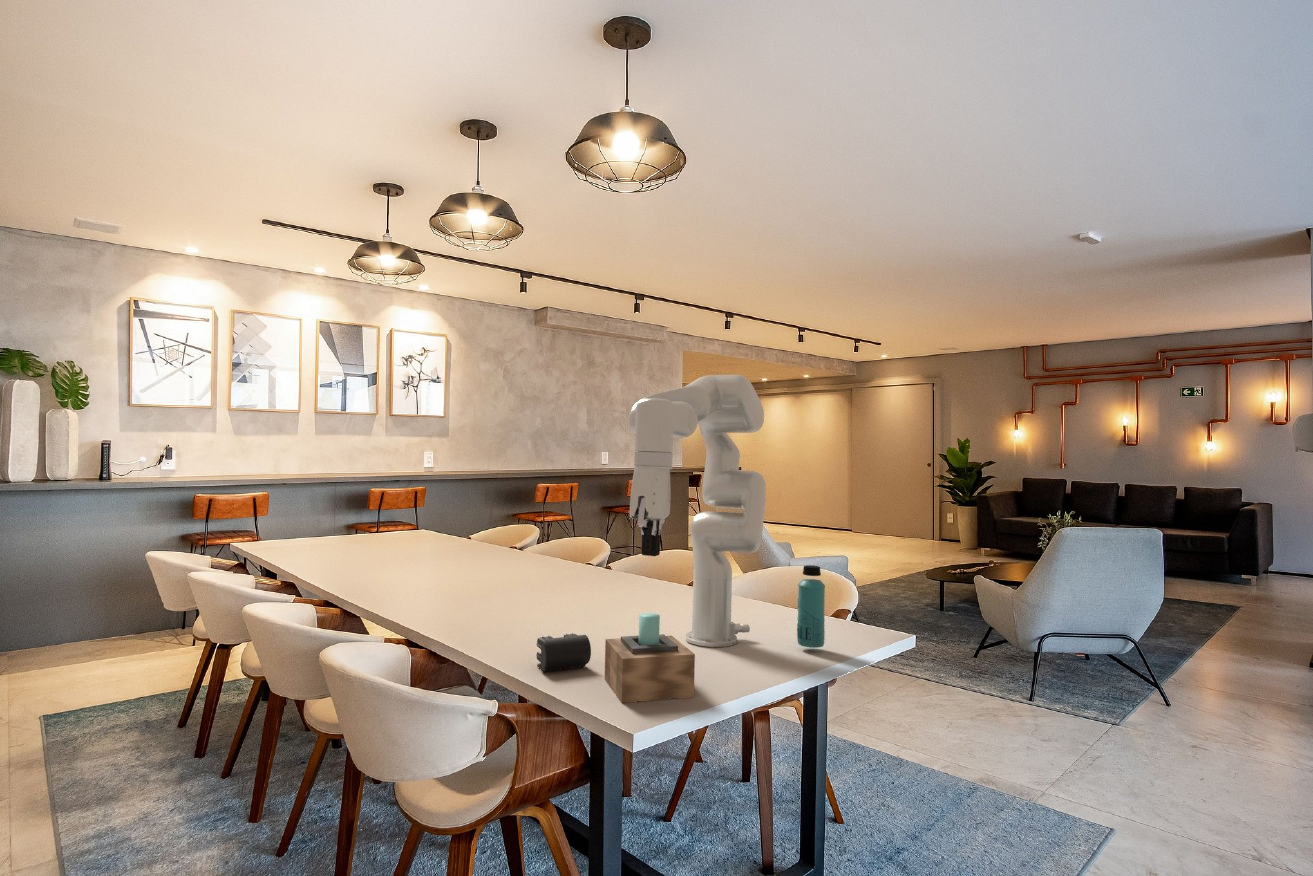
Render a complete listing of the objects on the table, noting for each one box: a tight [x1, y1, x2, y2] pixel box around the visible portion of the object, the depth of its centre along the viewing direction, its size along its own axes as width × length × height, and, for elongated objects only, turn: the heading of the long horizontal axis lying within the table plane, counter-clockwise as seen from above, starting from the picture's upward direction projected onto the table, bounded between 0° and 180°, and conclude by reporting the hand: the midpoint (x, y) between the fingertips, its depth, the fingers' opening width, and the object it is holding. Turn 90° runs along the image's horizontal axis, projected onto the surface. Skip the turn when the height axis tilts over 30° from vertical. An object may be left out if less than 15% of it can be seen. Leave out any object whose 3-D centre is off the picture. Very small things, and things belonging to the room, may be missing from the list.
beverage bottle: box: [796, 564, 826, 649], centre depth 167 cm, size 6×7×20 cm
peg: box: [638, 612, 661, 646], centre depth 138 cm, size 4×4×9 cm
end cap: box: [535, 632, 592, 673], centre depth 149 cm, size 10×7×7 cm
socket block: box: [604, 633, 696, 704], centre depth 137 cm, size 14×14×9 cm
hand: (650, 555), depth 138 cm, fingers closed
